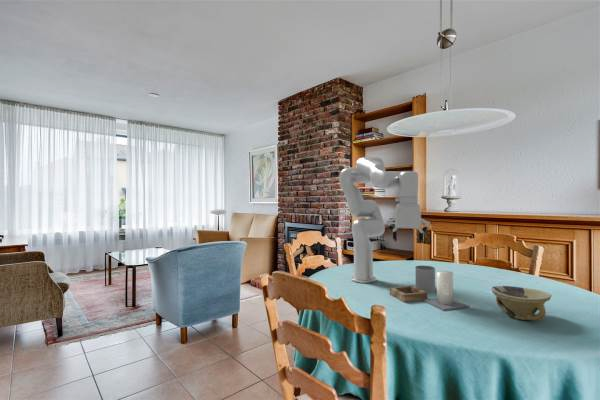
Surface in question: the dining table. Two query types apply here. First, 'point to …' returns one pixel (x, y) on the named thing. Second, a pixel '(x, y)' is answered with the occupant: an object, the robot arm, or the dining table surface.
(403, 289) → the tray
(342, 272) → the dining table surface
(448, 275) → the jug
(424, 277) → the cup
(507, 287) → the bowl
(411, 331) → the dining table surface
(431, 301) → the coaster
